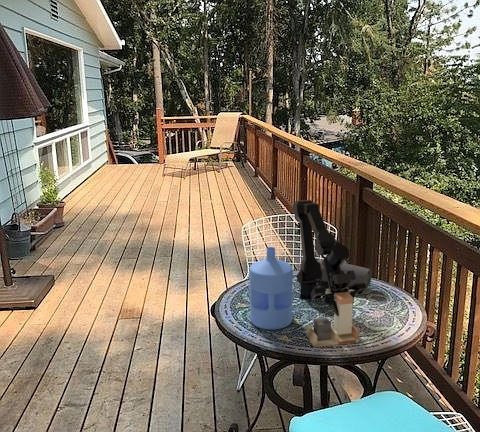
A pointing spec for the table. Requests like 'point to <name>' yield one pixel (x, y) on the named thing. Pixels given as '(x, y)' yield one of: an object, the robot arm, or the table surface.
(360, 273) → the bluetooth speaker
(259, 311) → the water jug
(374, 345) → the table surface
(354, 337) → the comb rack
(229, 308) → the table surface
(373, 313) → the table surface
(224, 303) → the table surface
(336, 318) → the plug
